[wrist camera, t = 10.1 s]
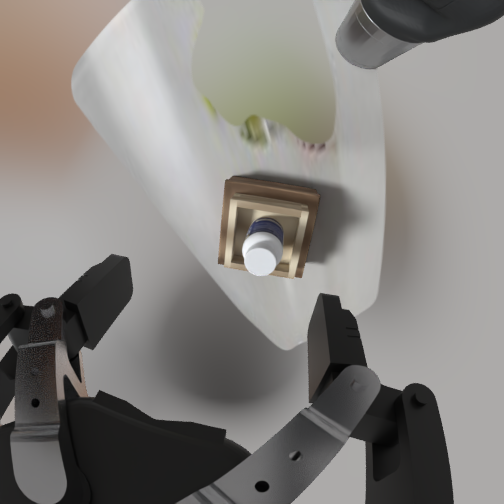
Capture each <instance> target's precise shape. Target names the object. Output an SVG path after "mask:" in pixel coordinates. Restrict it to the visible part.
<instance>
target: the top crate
mask: <svg viewBox="0 0 504 504" xmlns="http://www.w3.org/2000/svg"><path fill="white" fill-rule="evenodd" d="M308 214H309V210H308V205H306V204H300V203H295V202H289V201H283V200H277V199H271V198H265V197H259V196H253V195H246V194H239V193H235V194H234V195H233V196H232V198H231V199H230V209H229V219H228V229H227V240H226V251H225V262H224V267H227V268H232V269H238V270H244V271H248V270H247V268H246V266H245V263H244V257H243V253H242V248H243V244H244V241H245V238H246V235H247V233H248V230H249V227H250V225H251V224H252V222H253V221H254V220H256V219H257V218H259V217H263V216H269V217H273V218H275V219H276V220H278V221H279V222H280V224H281V225H282V227H283V231H284V238H283V255H282V259H281V261H280V262H279V264H278V265H277V266H276V267H275V269H274V271H273V272H272V273H270V274H268V275H273V276H279V277H285V278H291V279H294V277H295V272H296V268H297V264H298V260H299V255H300V251H301V247H302V242H303V238H304V233H305V228H306V224H307V219H308Z"/></svg>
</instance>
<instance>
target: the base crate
mask: <svg viewBox="0 0 504 504" xmlns="http://www.w3.org/2000/svg"><path fill="white" fill-rule="evenodd" d="M235 193H239V194H246V195H253V196H259V197H265V198H271V199H277V200H283V201H289V202H295V203H300V204H306V205H308V210H309V214H308V219H307V224H306V228H305V233H304V238H303V242H302V247H301V251H300V255H299V260H298V264H297V268H296V272H295V277H298V278H302V274H303V270H304V266H305V262H306V258H307V254H308V250H309V246H310V242H311V237H312V233H313V229H314V224H315V220H316V215H317V211H318V206H319V201H320V194H317V191H316V189H311V188H305V187H300V186H294V185H289V184H283V183H277V182H271V181H264V180H258V179H251V178H244V177H237V176H232V177H231V178H230V179H229V180H228V179H226V180H225V188H224V198H223V209H222V220H221V232H220V244H219V257H218V264H222V265H224V262H225V251H226V240H227V229H228V219H229V209H230V199H231V198H232V196H233V195H234V194H235Z"/></svg>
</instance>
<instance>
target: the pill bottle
mask: <svg viewBox="0 0 504 504" xmlns="http://www.w3.org/2000/svg"><path fill="white" fill-rule="evenodd" d="M283 238H284V231H283V227H282V225H281V224H280V222H279V221H278V220H276V219H275V218H273V217H269V216H263V217H259V218H257V219H256V220H254V221H253V222H252V224H251V225H250V227H249V230H248V233H247V235H246V238H245V241H244V244H243V248H242V253H243V257H244V263H245V266H246V268H247V270H248V271H249V272H250V273H252V274H254V275H257V276H266V275H268V274H270V273H272V272H273V271H274V269H275V267H276V266H277V265H278V264H279V262H280V261H281V259H282V255H283Z"/></svg>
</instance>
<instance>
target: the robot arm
mask: <svg viewBox="0 0 504 504" xmlns="http://www.w3.org/2000/svg"><path fill="white" fill-rule="evenodd" d="M503 15H504V0H355V1H354V3H353V5H352V7H351V8H350V10H349V12H348V14H347V15H346V17H345V19H344V21H343V22H342V24H341V26H340V28H339V29H338V31H337V34H336V45H337V48H338V50H339V52H340V53H341V55H342V56H343V57H344V58H345V59H346V60H347V61H348V62H350V63H351V64H353V65H355V66H358V67H360V68H365V69H373V68H377V67H379V66H381V65H383V64H384V63H386V62H388V61H390V60H392V59H394V58H395V57H397V56H399V55H401V54H403V53H405V52H407V51H408V50H410V49H412V48H414V47H416V46H418V45H420V44H422V43H424V42H428V43H430V42H435V41H438V40H441V39H444V38H447V37H450V36H453V35H457V34H461V33H465V32H468V31H472V30H475V29H478V28H481V27H483V26H486V25H488V24H491V23H493V22H494V21H496V20H498V19H499V18H501V17H502V16H503ZM132 293H133V284H132V277H131V269H130V261H129V259H128V258H127V257H124V256H119V255H114V254H111V255H110V256H109V257H108V258H106V259H105V260H104V261H103V262H102V263H99V264H97V265H95V266H93V267H91V268H90V269H89V270H88V271H87V272H85V273H84V276H81V277H80V278H79V279H78V281H76V282H75V283H74V284H73V285H72V286H71V287H69V289H67V290H66V291H65V292H64V294H62V295H61V296H60V297H59V298H54V297H49V298H45V299H42V300H40V301H39V302H38V303H36V304H35V306H24V305H23V303H22V301H21V298H20V297H19V295H17V294H8V295H5V296H3V297H2V298H1V299H0V343H1V342H2V341H3V339H4V338H5V337H6V336H7V335H8V337H9V339H10V340H11V342H12V344H13V345H12V347H11V348H10V349H9V351H8V352H7V353H6V355H5V356H4V357H3V359H2V360H1V362H0V420H1V418H2V416H3V414H4V413H5V411H6V409H7V407H8V406H9V404H10V402H11V401H12V399H13V397H14V396H15V421H14V422H11V423H8V424H5V425H1V424H0V504H291V503H292V502H293V501H294V500H295V499H296V498H297V497H298V496H299V495H300V494H301V493H302V492H303V491H304V490H305V489H306V488H307V487H308V486H309V485H310V484H311V483H312V481H314V479H315V478H316V477H317V476H318V475H319V474H320V473H321V472H322V471H323V470H324V468H325V467H326V466H327V465H328V464H329V463H330V461H331V460H332V459H333V458H334V457H335V456H336V454H337V453H338V452H339V451H340V449H341V448H342V447H343V445H344V444H345V443H346V441H347V440H348V438H349V437H353V438H356V439H359V440H363V441H365V442H366V501H365V504H454V500H453V489H452V480H451V471H450V464H449V458H448V452H447V446H446V441H445V436H444V431H443V427H442V422H441V418H440V414H439V410H438V406H437V402H436V398H435V396H434V394H433V392H432V391H431V390H430V389H429V388H427V387H426V386H424V385H422V384H418V383H413V384H410V385H408V386H406V388H405V389H404V390H403V391H400V390H397V389H393V388H390V387H387V386H384V385H382V384H380V380H379V378H378V376H377V375H376V374H375V373H374V372H373V371H372V370H371V369H369V368H368V367H367V363H366V359H365V354H364V350H363V346H362V341H361V339H360V333H359V331H358V325H357V321H356V319H355V317H354V316H353V315H352V313H351V312H350V311H349V310H345V309H342V308H341V303H340V299H339V296H336V295H329V294H323V293H320V294H319V296H318V299H317V302H316V305H315V308H314V311H313V314H312V317H311V320H310V323H309V328H308V336H307V338H308V369H309V370H308V373H309V403H313V404H312V405H311V406H310V407H309V408H304V409H303V410H302V411H300V412H299V413H298V414H297V415H296V416H295V417H294V418H293V419H292V420H291V421H290V422H289V423H288V424H287V425H286V426H284V427H283V428H282V429H281V430H280V431H279V432H278V433H277V434H275V435H274V436H273V437H272V438H271V439H270V440H269V441H267V442H266V443H265V444H264V445H263V446H262V447H260V448H259V449H258V450H257V451H255V452H254V453H253V454H251V453H249V451H247V450H246V449H245V448H243V447H242V446H240V445H238V444H237V443H235V442H233V441H232V440H229V439H227V438H225V436H226V430H225V429H220V428H215V427H211V426H206V425H202V424H198V423H194V422H182V421H165V420H156V419H153V418H151V417H150V416H148V415H147V414H145V413H143V412H141V411H140V410H139V409H137V408H136V407H134V406H133V405H131V404H130V403H128V402H127V401H125V400H122V399H119V398H117V397H115V396H112V395H110V394H107V393H105V392H103V391H100V390H99V392H98V393H97V395H96V397H88V394H87V390H86V385H85V377H84V369H83V360H82V353H81V351H80V350H81V348H82V347H83V346H84V347H87V348H89V349H92V350H93V349H94V348H95V347H96V345H97V344H98V342H99V341H100V340H101V338H102V337H103V335H104V334H105V333H106V331H107V330H108V329H109V327H110V326H111V325H112V323H113V322H114V321H115V319H116V318H117V316H118V315H119V314H120V313H121V311H122V310H123V309H124V307H125V306H126V305H127V303H128V302H129V301H130V299H131V296H132Z"/></svg>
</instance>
